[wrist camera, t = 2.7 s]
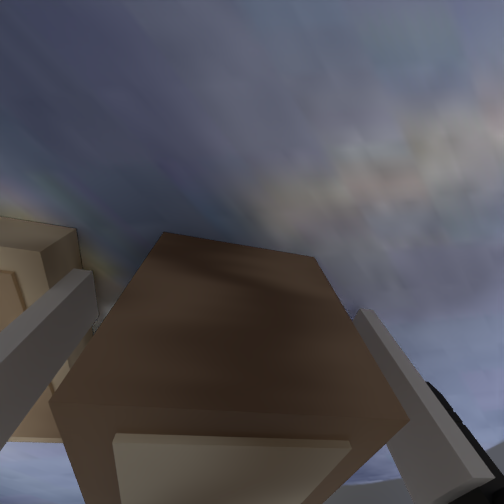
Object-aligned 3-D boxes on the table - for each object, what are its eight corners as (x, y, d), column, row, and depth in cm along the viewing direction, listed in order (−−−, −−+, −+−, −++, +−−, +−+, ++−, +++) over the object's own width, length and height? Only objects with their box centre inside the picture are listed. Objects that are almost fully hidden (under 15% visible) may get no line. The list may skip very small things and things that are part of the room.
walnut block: (159, 339, 13) (91, 533, 7) (164, 231, 10) (40, 412, 4) (275, 350, 14) (306, 526, 8) (313, 256, 11) (415, 428, 5)
